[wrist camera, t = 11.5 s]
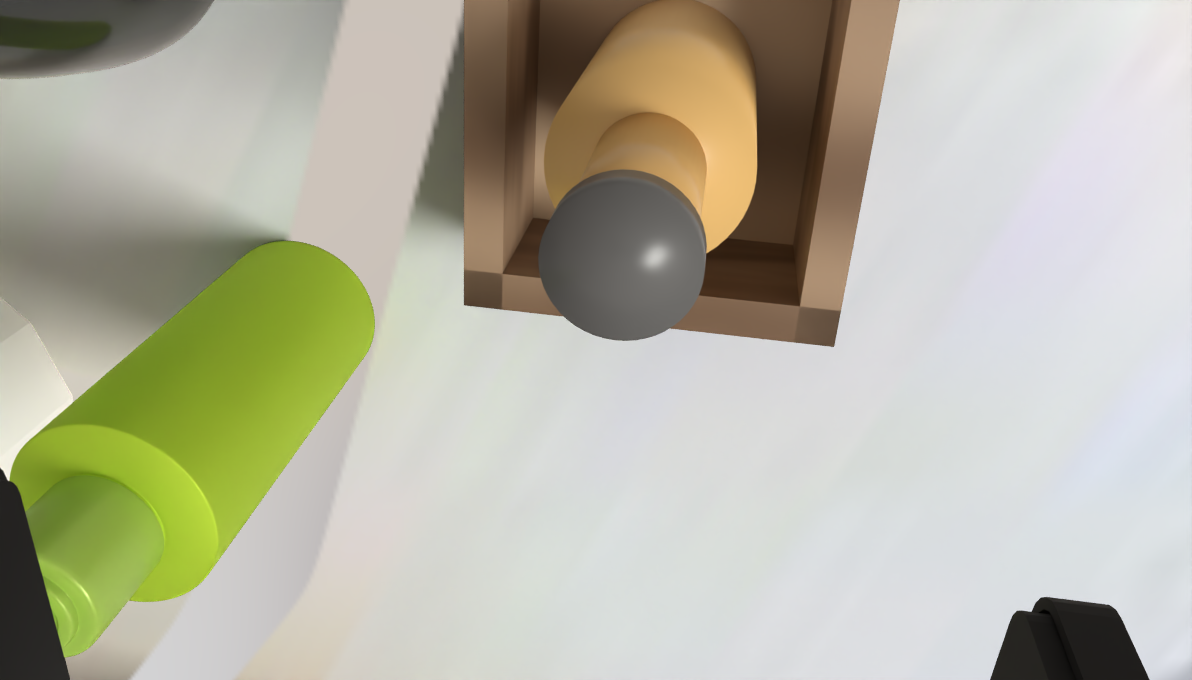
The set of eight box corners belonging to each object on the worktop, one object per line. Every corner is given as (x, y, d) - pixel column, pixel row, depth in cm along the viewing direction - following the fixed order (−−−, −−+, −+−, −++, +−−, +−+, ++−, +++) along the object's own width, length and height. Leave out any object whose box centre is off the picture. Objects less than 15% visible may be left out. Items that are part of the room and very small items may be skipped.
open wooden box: (507, -97, 31) (464, -83, 26) (883, -69, 30) (908, -48, 25) (501, 241, 36) (463, 304, 32) (822, 275, 35) (833, 346, 31)
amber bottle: (599, -9, 32) (489, 119, 18) (766, 6, 31) (776, 147, 18) (589, 153, 34) (486, 367, 21) (745, 168, 34) (739, 398, 20)
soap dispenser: (192, 230, 38) (-293, 584, 20) (371, 248, 37) (33, 630, 20) (210, 367, 41) (-202, 785, 23) (378, 386, 40) (87, 832, 22)
